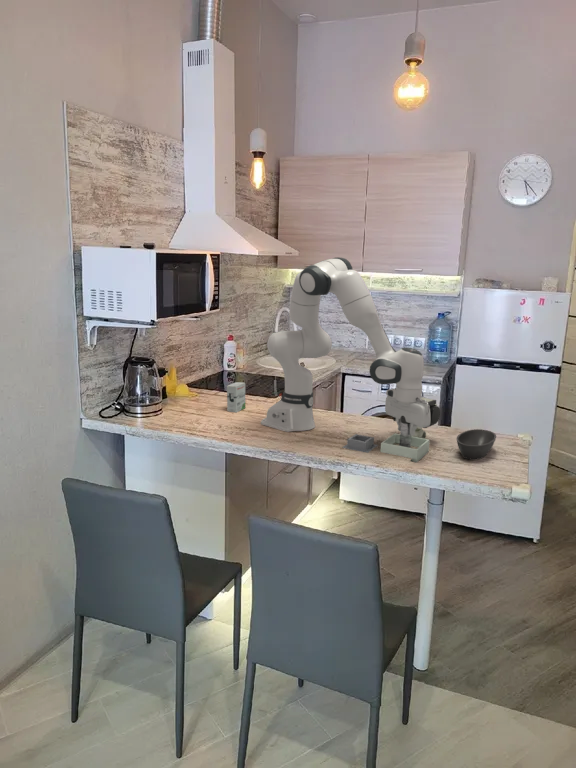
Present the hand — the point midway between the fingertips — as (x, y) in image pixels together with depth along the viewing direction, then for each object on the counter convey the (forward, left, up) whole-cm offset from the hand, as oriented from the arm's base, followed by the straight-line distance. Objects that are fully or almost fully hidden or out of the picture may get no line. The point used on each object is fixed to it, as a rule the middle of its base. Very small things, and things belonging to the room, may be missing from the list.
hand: (405, 433), depth 204 cm
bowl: (+21, +14, -8) cm, 27 cm away
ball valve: (-3, +18, -8) cm, 20 cm away
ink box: (-83, +13, -8) cm, 84 cm away
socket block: (-15, -5, -8) cm, 18 cm away
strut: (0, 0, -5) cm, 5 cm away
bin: (0, 0, -8) cm, 8 cm away
